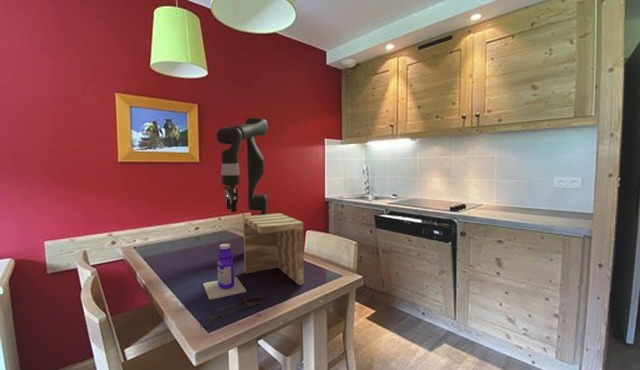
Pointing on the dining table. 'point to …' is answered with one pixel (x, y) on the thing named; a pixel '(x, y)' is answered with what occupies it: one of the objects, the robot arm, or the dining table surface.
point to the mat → (217, 292)
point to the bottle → (225, 267)
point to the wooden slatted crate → (274, 245)
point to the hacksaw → (236, 309)
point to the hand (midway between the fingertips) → (231, 210)
